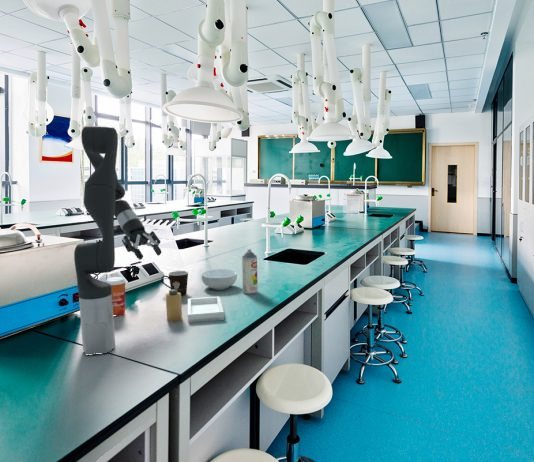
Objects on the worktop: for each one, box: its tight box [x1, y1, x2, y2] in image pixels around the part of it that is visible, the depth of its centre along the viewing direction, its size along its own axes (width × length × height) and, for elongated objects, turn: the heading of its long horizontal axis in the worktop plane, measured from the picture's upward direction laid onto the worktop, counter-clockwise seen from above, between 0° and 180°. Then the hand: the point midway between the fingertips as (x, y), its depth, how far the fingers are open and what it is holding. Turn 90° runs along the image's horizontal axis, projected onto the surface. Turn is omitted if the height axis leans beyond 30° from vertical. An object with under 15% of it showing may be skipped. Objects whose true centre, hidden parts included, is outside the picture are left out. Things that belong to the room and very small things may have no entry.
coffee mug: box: [160, 270, 189, 298], centre depth 180 cm, size 12×9×10 cm
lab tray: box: [187, 296, 225, 323], centre depth 156 cm, size 20×13×3 cm, turn 11°
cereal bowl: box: [201, 268, 238, 291], centre depth 191 cm, size 17×17×7 cm
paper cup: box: [105, 276, 127, 316], centre depth 154 cm, size 8×8×14 cm
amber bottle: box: [165, 289, 183, 323], centre depth 148 cm, size 6×6×11 cm
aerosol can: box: [241, 248, 259, 296], centre depth 181 cm, size 7×7×20 cm
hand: (150, 256), depth 152 cm, fingers open, 8 cm apart
